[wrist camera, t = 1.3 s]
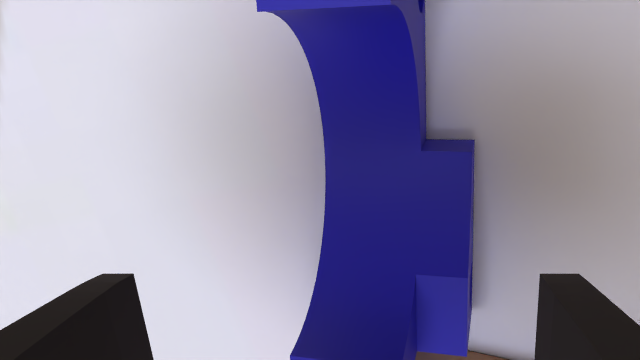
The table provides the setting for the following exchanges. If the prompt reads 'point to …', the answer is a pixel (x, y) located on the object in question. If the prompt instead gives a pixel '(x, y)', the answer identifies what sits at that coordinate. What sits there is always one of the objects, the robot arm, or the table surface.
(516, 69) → the table surface
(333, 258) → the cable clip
